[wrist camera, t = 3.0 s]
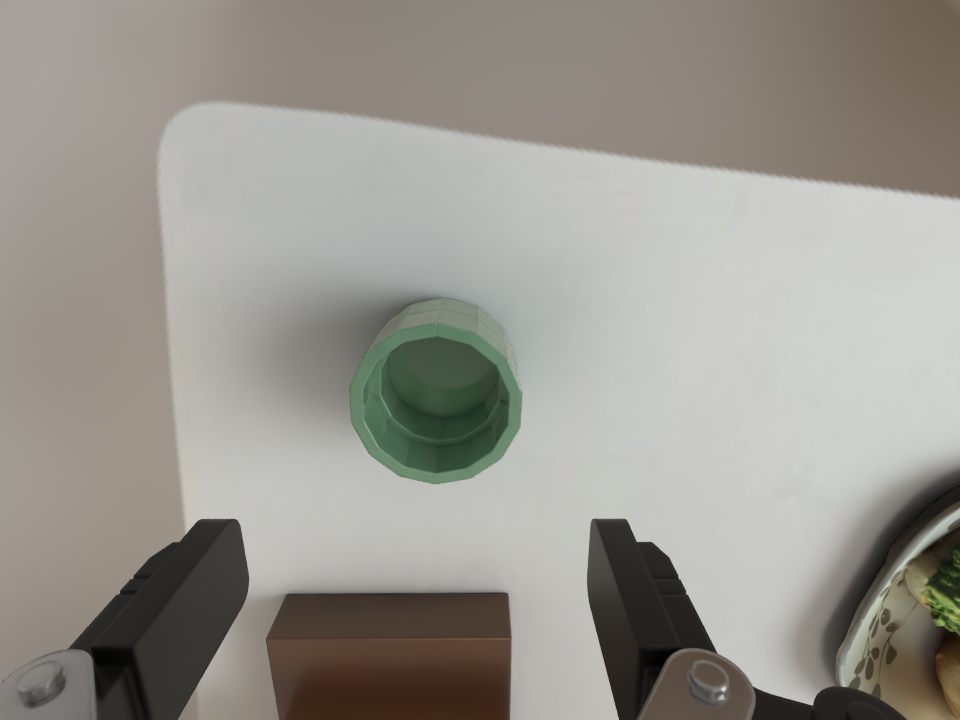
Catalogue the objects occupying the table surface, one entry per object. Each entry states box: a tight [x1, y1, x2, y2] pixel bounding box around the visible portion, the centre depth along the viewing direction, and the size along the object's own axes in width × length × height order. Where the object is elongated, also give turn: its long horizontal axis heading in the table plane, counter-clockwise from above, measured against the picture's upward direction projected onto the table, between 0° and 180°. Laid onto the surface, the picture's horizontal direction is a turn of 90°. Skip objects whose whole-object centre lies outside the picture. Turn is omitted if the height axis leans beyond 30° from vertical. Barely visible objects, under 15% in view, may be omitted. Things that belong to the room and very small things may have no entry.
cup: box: [350, 298, 523, 484], centre depth 22 cm, size 6×6×5 cm
